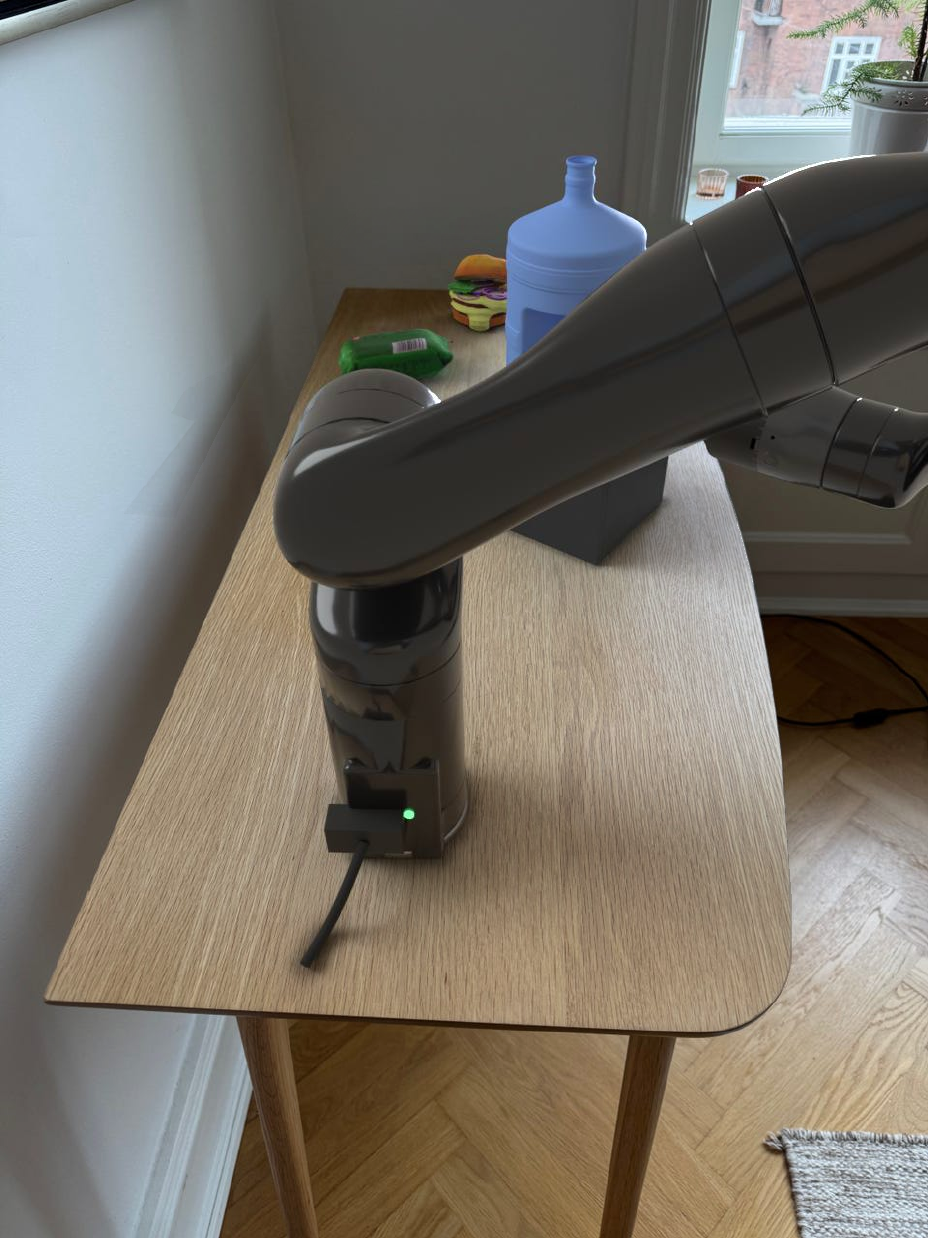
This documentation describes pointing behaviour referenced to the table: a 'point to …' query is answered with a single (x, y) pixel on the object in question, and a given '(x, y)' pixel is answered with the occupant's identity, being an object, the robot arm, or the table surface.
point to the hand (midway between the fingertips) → (590, 368)
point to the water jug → (563, 257)
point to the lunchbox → (599, 514)
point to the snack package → (397, 353)
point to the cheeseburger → (480, 292)
